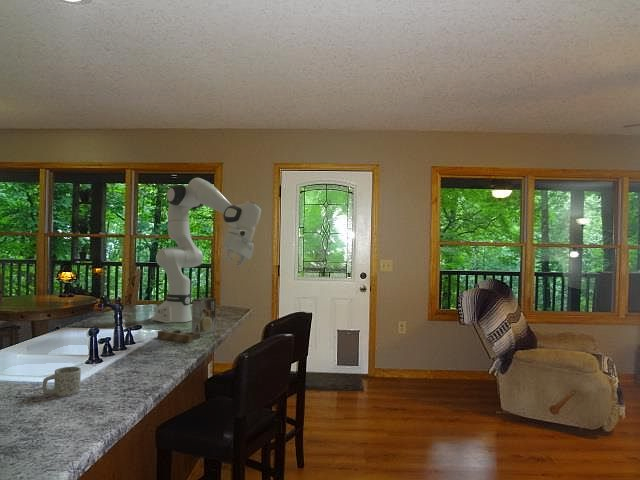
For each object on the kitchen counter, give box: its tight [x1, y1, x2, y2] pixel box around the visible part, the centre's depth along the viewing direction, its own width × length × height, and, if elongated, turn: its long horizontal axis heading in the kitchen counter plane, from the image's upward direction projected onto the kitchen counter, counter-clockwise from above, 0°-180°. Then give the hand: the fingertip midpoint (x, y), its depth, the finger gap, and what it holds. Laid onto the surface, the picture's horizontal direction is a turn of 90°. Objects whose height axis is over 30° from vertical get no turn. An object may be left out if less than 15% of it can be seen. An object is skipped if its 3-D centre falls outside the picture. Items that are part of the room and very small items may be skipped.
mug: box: [42, 366, 82, 398], centre depth 136 cm, size 10×7×7 cm, turn 141°
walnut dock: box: [157, 330, 201, 344], centre depth 211 cm, size 18×10×3 cm, turn 64°
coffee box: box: [191, 297, 217, 336], centre depth 225 cm, size 9×6×16 cm
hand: (233, 263), depth 220 cm, fingers open, 8 cm apart
